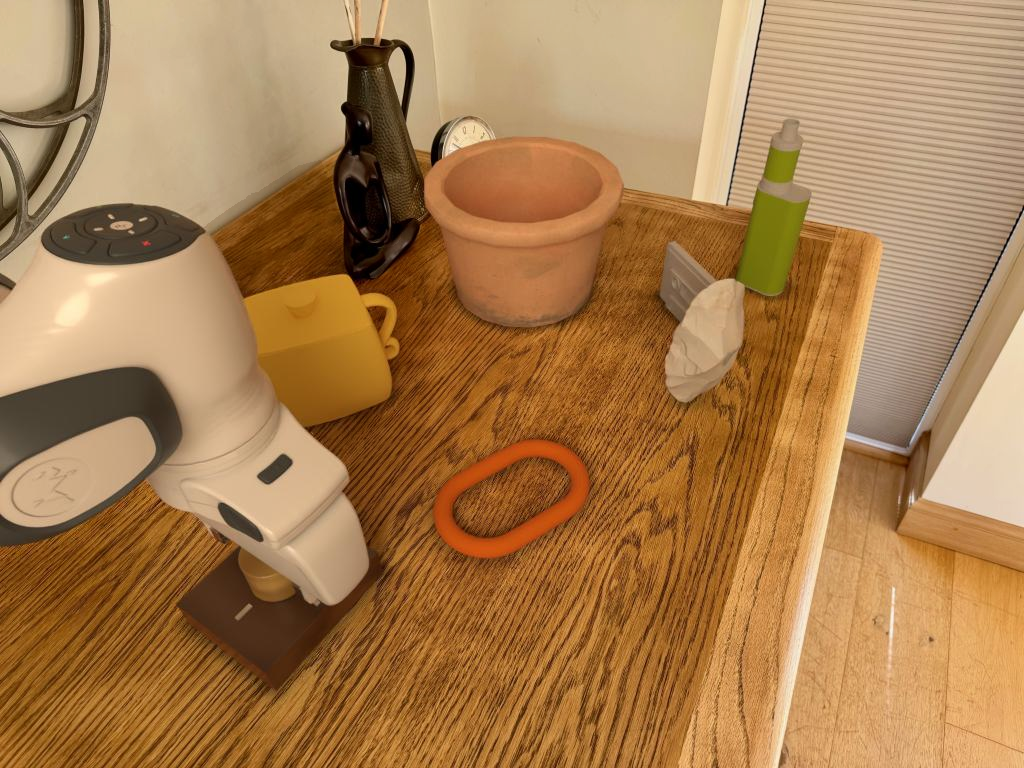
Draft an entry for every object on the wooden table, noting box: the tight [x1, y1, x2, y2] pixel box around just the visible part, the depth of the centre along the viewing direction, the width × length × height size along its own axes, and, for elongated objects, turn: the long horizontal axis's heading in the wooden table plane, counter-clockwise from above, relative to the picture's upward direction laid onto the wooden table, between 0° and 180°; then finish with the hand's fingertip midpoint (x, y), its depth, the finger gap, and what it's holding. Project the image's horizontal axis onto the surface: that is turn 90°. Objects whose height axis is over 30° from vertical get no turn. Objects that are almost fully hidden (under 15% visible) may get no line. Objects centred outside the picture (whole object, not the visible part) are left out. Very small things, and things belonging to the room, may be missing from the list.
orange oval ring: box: [432, 438, 591, 559], centre depth 65 cm, size 10×2×15 cm
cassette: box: [659, 240, 717, 323], centre depth 81 cm, size 12×2×8 cm, turn 22°
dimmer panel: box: [175, 544, 384, 692], centre depth 58 cm, size 12×10×3 cm
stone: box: [664, 278, 746, 404], centre depth 69 cm, size 8×5×15 cm
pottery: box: [423, 136, 625, 329], centre depth 84 cm, size 22×22×14 cm
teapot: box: [243, 273, 401, 429], centre depth 73 cm, size 20×12×12 cm, turn 113°
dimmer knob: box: [238, 548, 295, 602], centre depth 56 cm, size 4×4×4 cm
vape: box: [735, 117, 813, 297], centre depth 82 cm, size 4×6×20 cm, turn 47°
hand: (268, 562), depth 56 cm, fingers open, 8 cm apart
